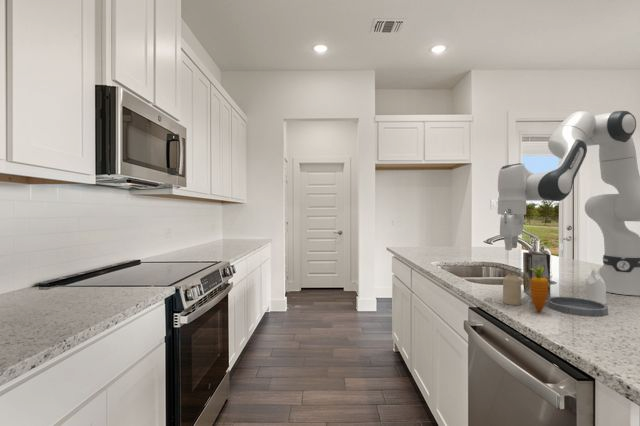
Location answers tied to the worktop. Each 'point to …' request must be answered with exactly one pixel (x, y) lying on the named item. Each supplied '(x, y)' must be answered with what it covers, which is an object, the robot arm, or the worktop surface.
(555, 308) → the dish
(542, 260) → the coffee box
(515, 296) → the candle
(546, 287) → the carrot
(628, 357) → the worktop surface
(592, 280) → the white plastic bottle
